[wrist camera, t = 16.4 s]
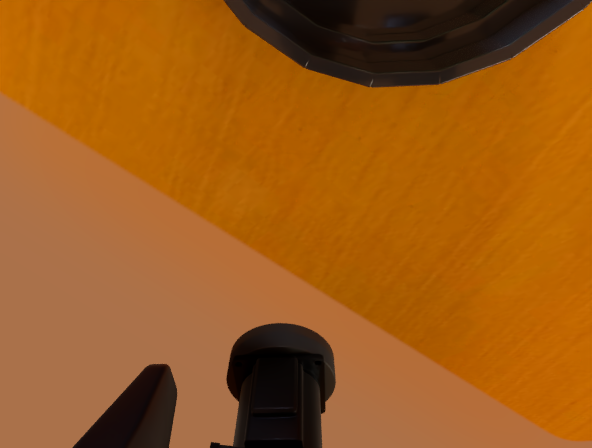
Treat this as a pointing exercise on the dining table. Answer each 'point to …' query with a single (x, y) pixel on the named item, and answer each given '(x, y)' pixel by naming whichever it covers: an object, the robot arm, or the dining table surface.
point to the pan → (402, 35)
